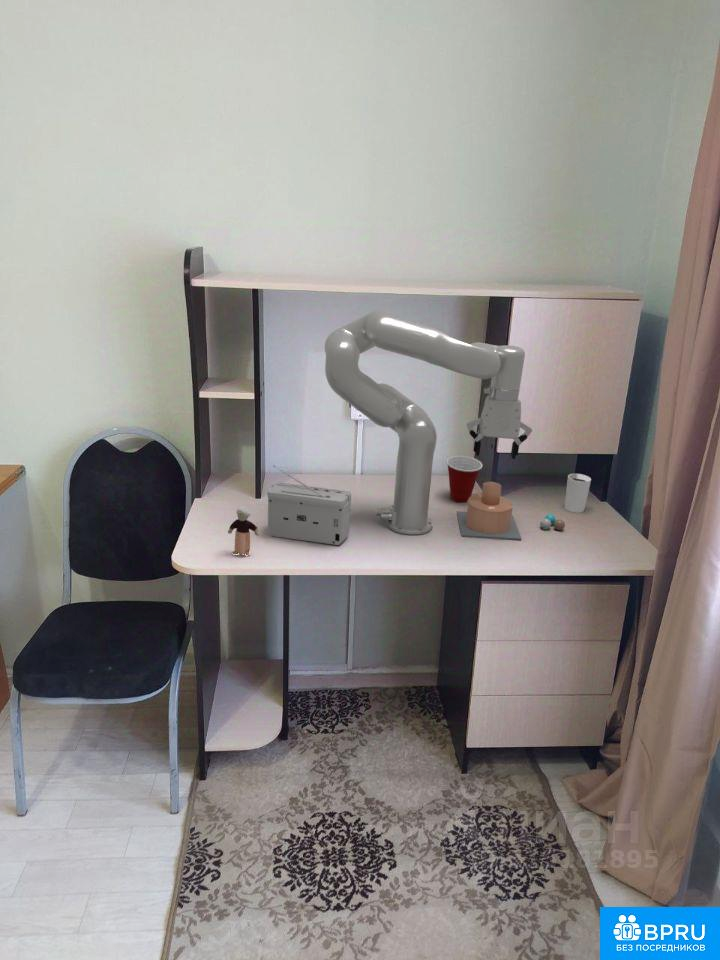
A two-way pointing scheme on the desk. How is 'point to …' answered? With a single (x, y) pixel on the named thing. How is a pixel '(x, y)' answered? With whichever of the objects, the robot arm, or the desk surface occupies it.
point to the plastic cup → (462, 476)
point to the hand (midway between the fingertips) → (494, 455)
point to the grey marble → (545, 523)
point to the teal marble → (551, 518)
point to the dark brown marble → (559, 524)
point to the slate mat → (468, 532)
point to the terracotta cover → (489, 510)
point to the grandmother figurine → (242, 531)
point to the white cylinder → (577, 492)
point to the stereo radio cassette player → (308, 512)
